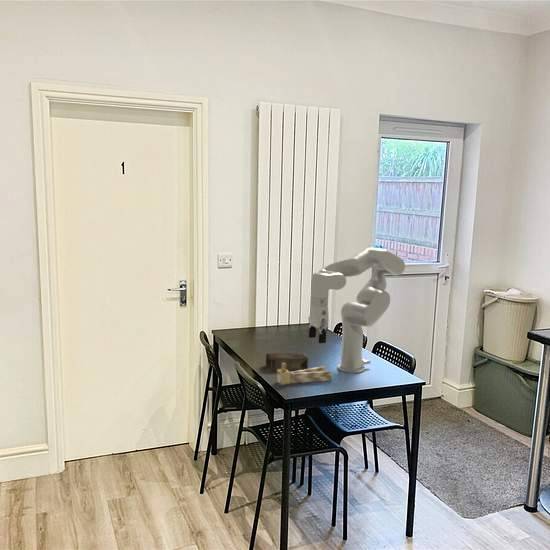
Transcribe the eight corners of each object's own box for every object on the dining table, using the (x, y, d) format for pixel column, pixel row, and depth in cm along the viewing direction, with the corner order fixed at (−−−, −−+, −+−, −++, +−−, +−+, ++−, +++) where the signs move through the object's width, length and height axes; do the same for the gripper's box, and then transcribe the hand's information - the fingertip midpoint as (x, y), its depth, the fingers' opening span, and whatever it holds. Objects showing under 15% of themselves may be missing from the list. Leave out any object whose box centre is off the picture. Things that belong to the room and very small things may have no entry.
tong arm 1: (323, 374, 245) (323, 366, 245) (324, 375, 244) (325, 367, 244) (289, 380, 236) (289, 371, 236) (290, 381, 235) (290, 372, 235)
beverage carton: (308, 370, 252) (308, 356, 251) (267, 371, 250) (267, 357, 249) (304, 365, 260) (305, 351, 259) (264, 365, 257) (265, 352, 256)
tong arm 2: (330, 379, 239) (331, 370, 239) (331, 380, 238) (332, 371, 238) (291, 382, 235) (291, 373, 234) (292, 383, 234) (292, 374, 233)
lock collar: (285, 380, 237) (285, 361, 235) (290, 384, 232) (290, 364, 231) (276, 381, 235) (277, 361, 234) (281, 385, 231) (282, 365, 229)
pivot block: (286, 381, 236) (286, 371, 235) (289, 384, 233) (289, 374, 232) (277, 382, 234) (277, 372, 234) (280, 385, 231) (280, 375, 231)
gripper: (336, 305, 229) (333, 344, 231) (318, 297, 245) (316, 334, 247) (320, 305, 226) (318, 345, 229) (303, 298, 242) (301, 335, 245)
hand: (317, 340), depth 238 cm, fingers open, 9 cm apart
